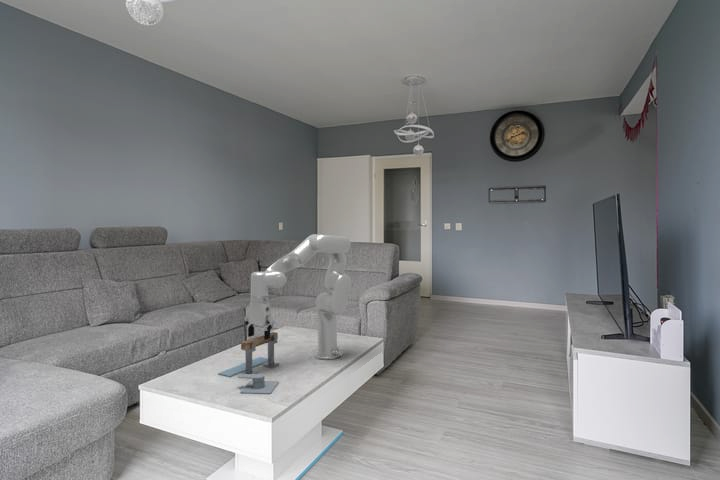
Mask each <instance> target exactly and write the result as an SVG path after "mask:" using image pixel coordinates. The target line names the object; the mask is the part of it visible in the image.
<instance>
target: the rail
mask: <svg viewBox="0 0 720 480" xmlns="http://www.w3.org/2000/svg"><path fill="white" fill-rule="evenodd" d="M274 335H277V340H278V339H279V338H278V337H279V336H278V332H274V331H270V339H267V340H264V334H263V335H260V336H257V337H254V338H250V339H248V340H243V341H244V342H243V341H241V342H240V349H241V351H245V350H249V349H250V343H253V342H254V343H255V345H256V348H257V347H259V346H262V345H265V344H268V342H271V341H273V336H274Z"/></svg>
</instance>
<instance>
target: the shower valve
mask: <svg viewBox="0 0 720 480" xmlns="http://www.w3.org/2000/svg"><path fill="white" fill-rule="evenodd" d="M265 377H266V376H265V374H263V373H258V374H241V373H239V375H238V376H237V378H240V379H251V380H249V381H248V382H247V383H246V385H244V387H242V389H240V391H239V392H240V394H244V395H247V394H249V395H271V394H272V393H273V392H274V391H275V389H276V388H277V386H278V385H279V381H278V380H265Z"/></svg>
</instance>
